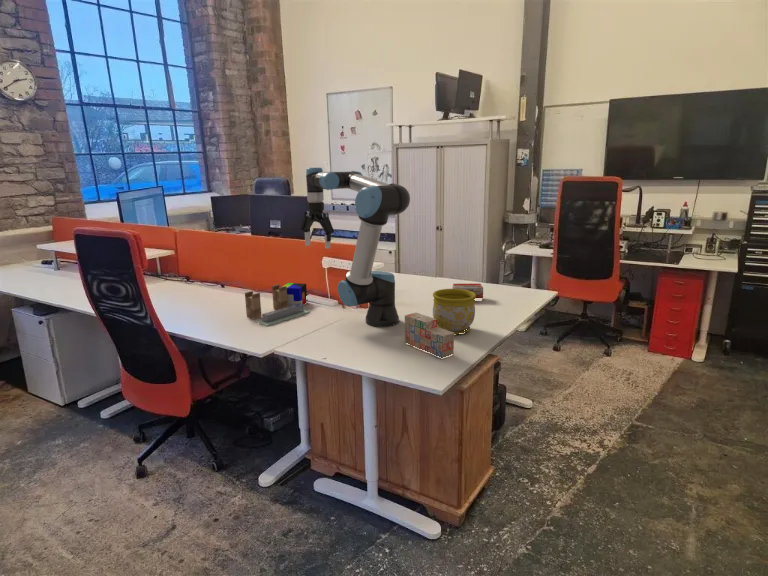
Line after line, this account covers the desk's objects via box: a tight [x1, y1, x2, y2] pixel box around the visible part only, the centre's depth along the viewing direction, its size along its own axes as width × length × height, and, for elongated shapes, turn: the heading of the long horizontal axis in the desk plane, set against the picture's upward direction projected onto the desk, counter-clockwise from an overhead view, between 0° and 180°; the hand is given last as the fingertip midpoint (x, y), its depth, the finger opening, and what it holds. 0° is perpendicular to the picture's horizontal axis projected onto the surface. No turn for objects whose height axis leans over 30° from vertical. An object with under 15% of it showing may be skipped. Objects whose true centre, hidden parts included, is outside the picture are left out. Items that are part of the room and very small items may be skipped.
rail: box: [261, 303, 305, 323], centre depth 232 cm, size 22×4×4 cm, turn 141°
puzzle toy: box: [281, 282, 308, 306], centre depth 253 cm, size 10×10×10 cm
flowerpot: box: [432, 288, 476, 334], centre depth 210 cm, size 18×18×16 cm
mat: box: [255, 309, 311, 327], centre depth 232 cm, size 8×26×1 cm, turn 141°
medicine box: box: [452, 283, 484, 298], centre depth 258 cm, size 15×8×8 cm, turn 88°
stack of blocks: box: [404, 312, 455, 358], centre depth 189 cm, size 21×6×12 cm, turn 38°
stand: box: [244, 284, 288, 320], centre depth 238 cm, size 6×20×12 cm, turn 141°
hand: (317, 246), depth 234 cm, fingers open, 13 cm apart
